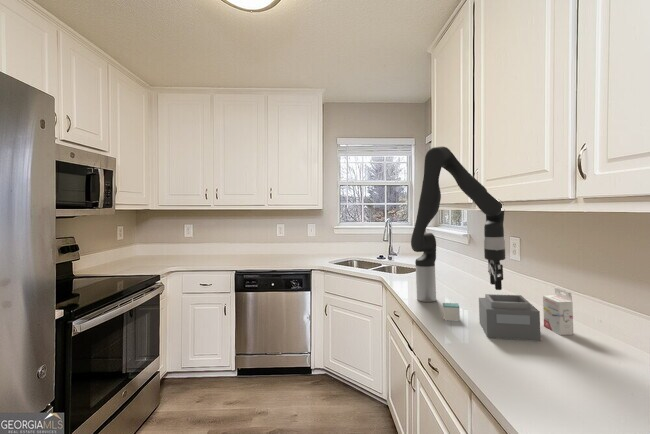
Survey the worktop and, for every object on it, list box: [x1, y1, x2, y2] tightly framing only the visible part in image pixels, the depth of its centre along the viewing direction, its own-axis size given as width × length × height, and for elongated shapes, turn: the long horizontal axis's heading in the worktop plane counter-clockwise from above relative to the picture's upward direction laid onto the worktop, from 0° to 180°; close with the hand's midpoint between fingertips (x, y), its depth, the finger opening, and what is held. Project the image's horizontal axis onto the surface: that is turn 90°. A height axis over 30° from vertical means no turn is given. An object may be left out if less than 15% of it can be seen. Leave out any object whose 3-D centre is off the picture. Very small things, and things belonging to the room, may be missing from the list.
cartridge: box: [442, 302, 461, 321], centre depth 127 cm, size 4×6×6 cm, turn 73°
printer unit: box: [478, 293, 542, 342], centre depth 112 cm, size 15×16×12 cm
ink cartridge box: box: [542, 286, 574, 336], centre depth 111 cm, size 9×5×15 cm, turn 179°
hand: (495, 286), depth 127 cm, fingers open, 8 cm apart
